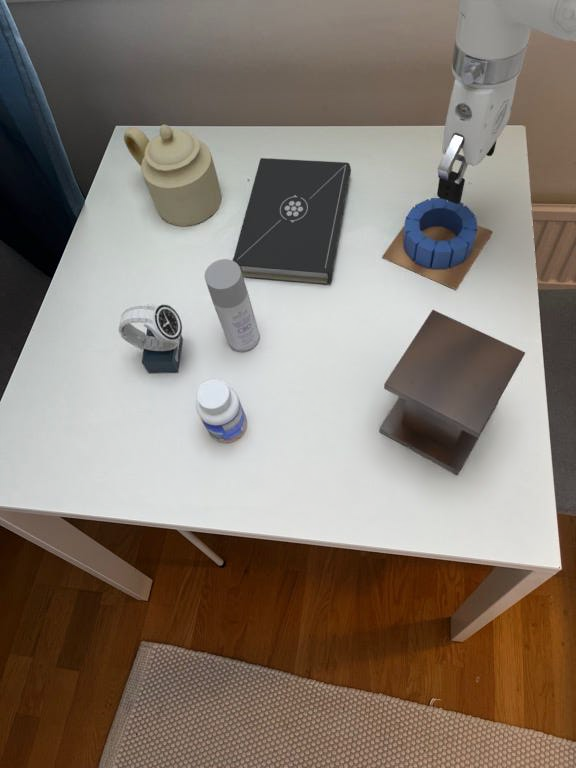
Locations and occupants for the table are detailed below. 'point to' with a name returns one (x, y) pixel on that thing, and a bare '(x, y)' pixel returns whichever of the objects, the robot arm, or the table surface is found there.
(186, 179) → the sugar bowl
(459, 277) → the mat
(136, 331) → the watch
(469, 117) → the robot arm
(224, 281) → the container
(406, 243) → the ring
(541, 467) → the table surface
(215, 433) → the pill bottle
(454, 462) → the platform
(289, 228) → the book
